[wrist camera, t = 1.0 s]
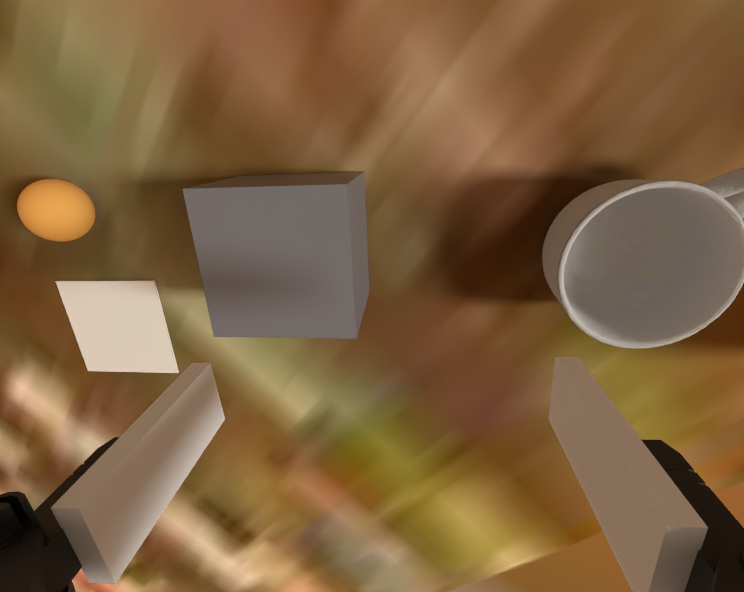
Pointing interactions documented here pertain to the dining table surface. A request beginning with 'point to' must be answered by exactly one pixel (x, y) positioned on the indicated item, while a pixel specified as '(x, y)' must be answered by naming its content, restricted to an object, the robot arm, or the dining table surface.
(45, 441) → the dining table surface
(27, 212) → the ball
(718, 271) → the teacup
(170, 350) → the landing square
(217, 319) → the grey block
